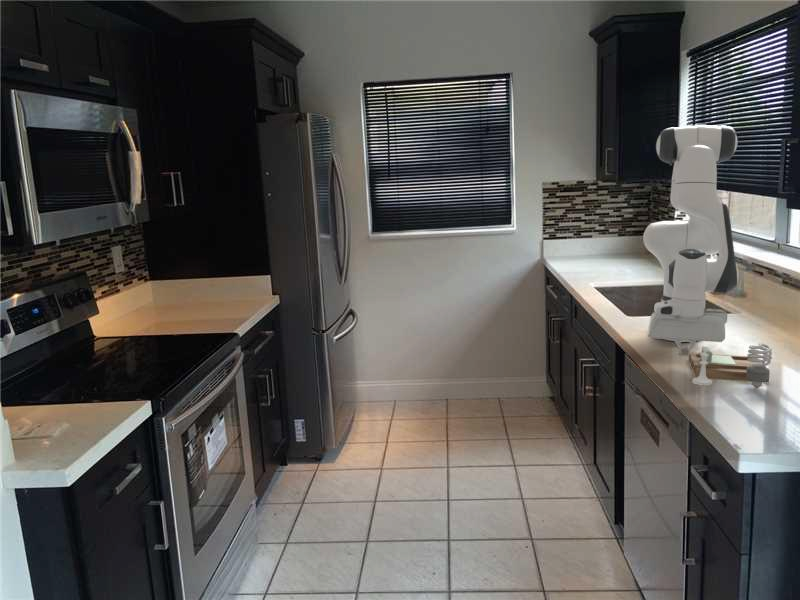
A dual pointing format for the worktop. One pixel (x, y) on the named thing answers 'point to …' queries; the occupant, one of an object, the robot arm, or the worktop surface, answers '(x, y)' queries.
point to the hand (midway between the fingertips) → (684, 354)
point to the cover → (718, 358)
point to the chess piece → (703, 371)
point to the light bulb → (759, 371)
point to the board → (723, 368)
